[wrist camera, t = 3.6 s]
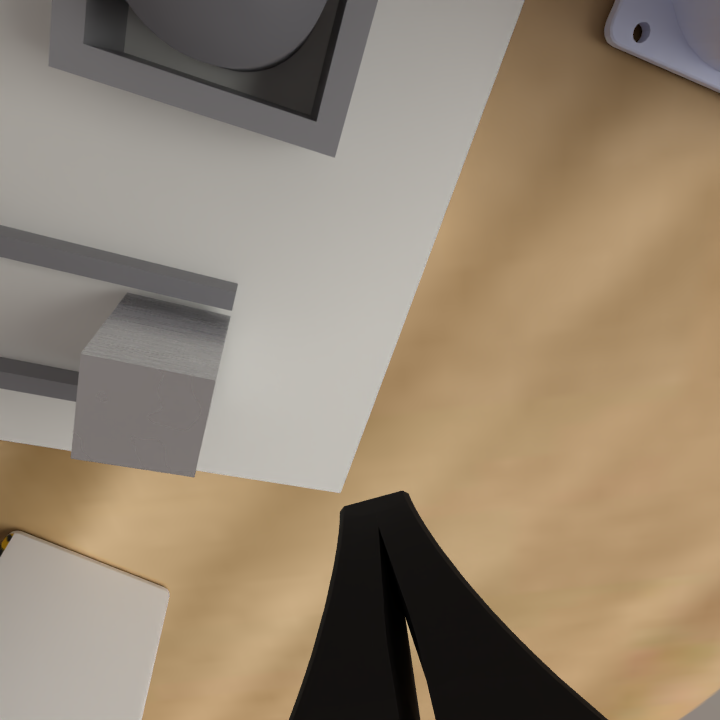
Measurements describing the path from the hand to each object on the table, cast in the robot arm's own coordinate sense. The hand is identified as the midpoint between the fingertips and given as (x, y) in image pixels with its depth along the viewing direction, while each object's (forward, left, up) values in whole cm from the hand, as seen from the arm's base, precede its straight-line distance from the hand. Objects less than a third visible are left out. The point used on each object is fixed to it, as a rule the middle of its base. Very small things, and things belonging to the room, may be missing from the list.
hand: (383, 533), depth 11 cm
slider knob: (+5, +1, -8) cm, 10 cm away
